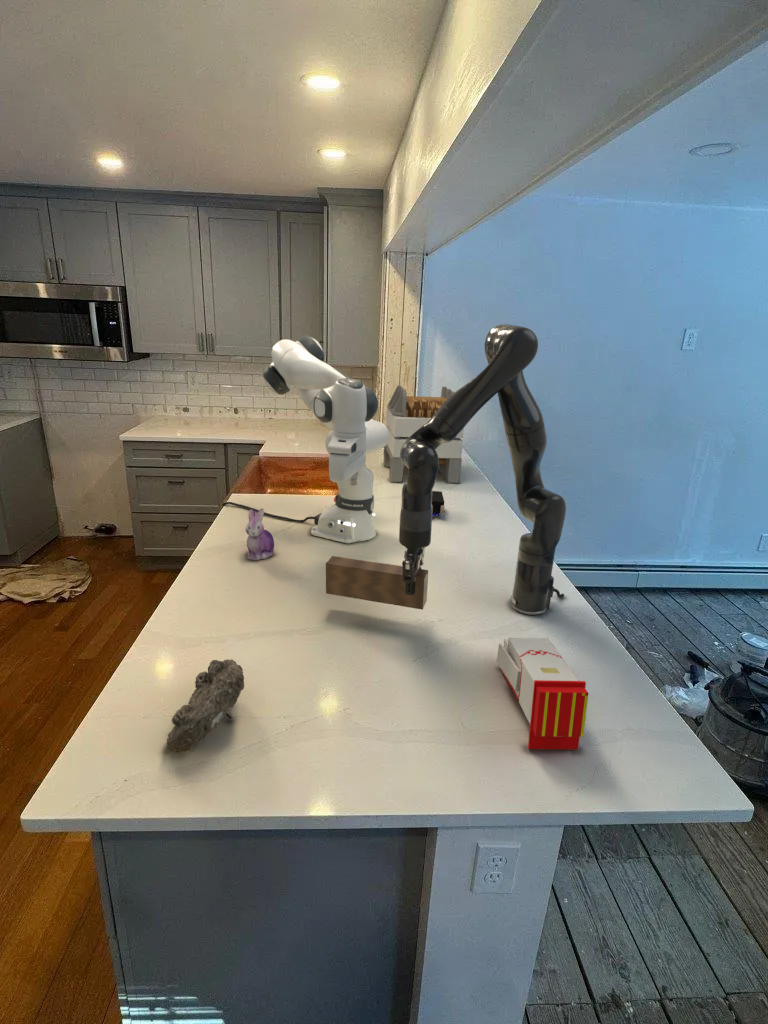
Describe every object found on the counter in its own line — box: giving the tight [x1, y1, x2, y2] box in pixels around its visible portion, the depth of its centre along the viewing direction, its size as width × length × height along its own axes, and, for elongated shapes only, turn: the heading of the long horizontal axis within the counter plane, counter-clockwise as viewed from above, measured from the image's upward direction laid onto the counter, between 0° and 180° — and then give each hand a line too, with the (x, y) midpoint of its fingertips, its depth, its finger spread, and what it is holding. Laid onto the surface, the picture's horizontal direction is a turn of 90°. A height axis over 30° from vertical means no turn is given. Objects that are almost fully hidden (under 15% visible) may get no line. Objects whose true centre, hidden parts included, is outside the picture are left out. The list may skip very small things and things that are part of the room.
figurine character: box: [432, 490, 445, 519], centre depth 220 cm, size 7×8×15 cm
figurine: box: [245, 508, 275, 561], centre depth 176 cm, size 9×10×15 cm
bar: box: [325, 555, 429, 610], centre depth 141 cm, size 25×5×8 cm, turn 74°
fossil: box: [166, 658, 245, 754], centre depth 106 cm, size 22×10×15 cm
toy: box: [496, 637, 589, 751], centre depth 115 cm, size 12×13×30 cm
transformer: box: [383, 384, 465, 484], centre depth 268 cm, size 34×33×41 cm
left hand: (348, 489), depth 158 cm, fingers open, 8 cm apart
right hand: (412, 588), depth 139 cm, fingers closed on bar, 4 cm apart
